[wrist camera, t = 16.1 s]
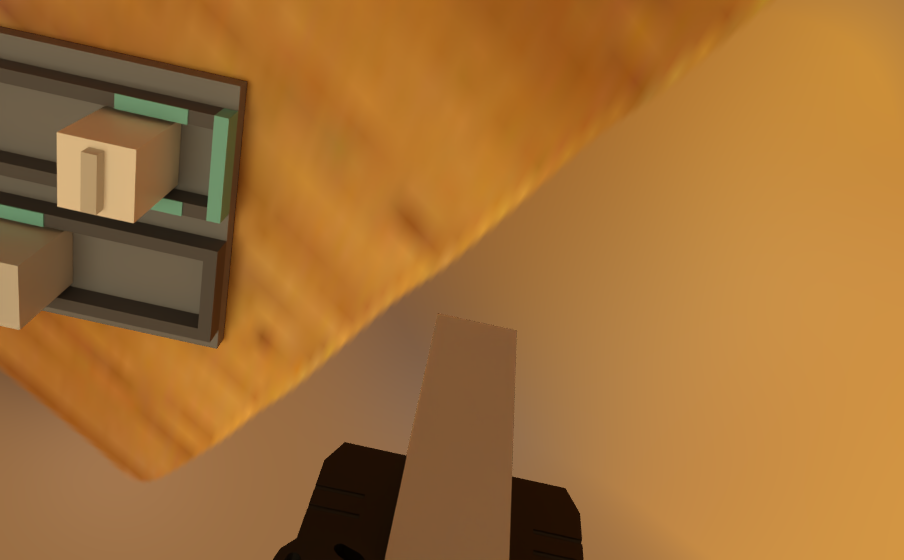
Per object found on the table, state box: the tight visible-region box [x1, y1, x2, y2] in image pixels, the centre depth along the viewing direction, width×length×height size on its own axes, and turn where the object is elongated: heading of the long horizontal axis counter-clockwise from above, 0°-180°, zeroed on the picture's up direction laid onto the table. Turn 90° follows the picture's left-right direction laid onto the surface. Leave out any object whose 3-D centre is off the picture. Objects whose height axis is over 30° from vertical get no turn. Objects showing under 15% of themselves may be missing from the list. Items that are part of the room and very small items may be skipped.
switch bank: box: [0, 27, 247, 349], centre depth 49 cm, size 17×16×3 cm
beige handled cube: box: [0, 218, 73, 330], centre depth 48 cm, size 4×4×7 cm
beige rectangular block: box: [57, 106, 181, 223], centre depth 45 cm, size 4×4×7 cm
